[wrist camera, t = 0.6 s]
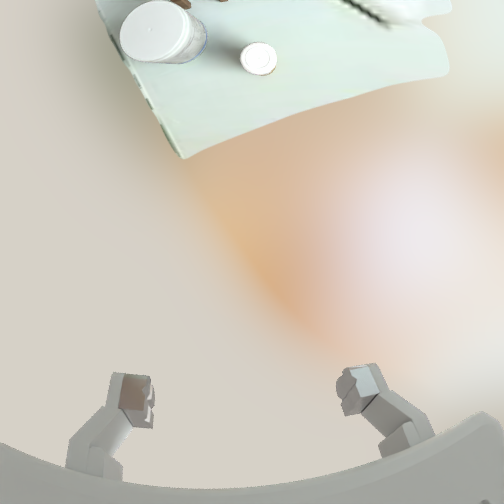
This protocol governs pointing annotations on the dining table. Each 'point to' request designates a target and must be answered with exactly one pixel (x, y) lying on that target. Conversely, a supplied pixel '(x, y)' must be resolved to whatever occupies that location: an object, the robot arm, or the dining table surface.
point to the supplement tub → (162, 34)
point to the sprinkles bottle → (258, 58)
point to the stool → (186, 3)
